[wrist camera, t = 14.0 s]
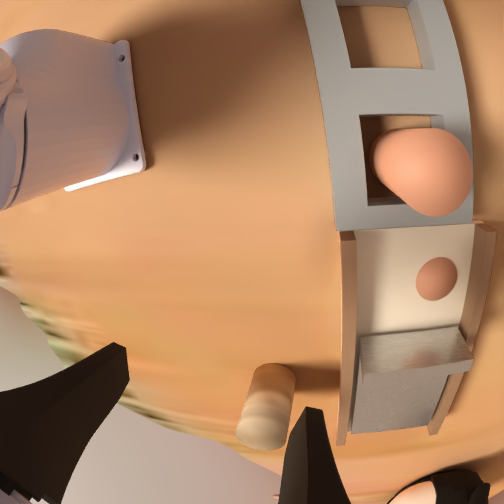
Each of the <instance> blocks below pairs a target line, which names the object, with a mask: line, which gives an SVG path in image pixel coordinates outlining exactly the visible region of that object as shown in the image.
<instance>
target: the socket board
mask: <svg viewBox="0 0 504 504" xmlns="http://www.w3.org/2000/svg"><path fill="white" fill-rule="evenodd" d="M300 3H301V6H302V11H303V15H304V19H305V23H306V27H307V32H308V36H309V41H310V46H311V50H312V55H313V60H314V66H315V71H316V76H317V82H318V88H319V93H320V99H321V106H322V112H323V119H324V126H325V133H326V140H327V148H328V156H329V165H330V174H331V184H332V194H333V206H334V218H335V225H336V231H346V230H361V229H377V228H393V227H410V226H428V225H446V224H466V223H472V222H473V200H474V167H473V145H472V132H471V122H470V113H469V105H468V99H467V92H466V86H465V81H464V75H463V70H462V65H461V61H460V57H459V52H458V48H457V44H456V41H455V37H454V33H453V30H452V26H451V23H450V20H449V17H448V14H447V11H446V8H445V5H444V2H443V0H300ZM337 6H390V7H404V8H407V11H408V14H409V17H410V20H411V24H412V27H413V31H414V35H415V39H416V42H417V47H418V51H419V55H420V60H421V64H422V69H413V68H351V65H350V60H349V56H348V51H347V46H346V42H345V38H344V33H343V29H342V25H341V21H340V17H339V14H338V10H337ZM366 116H430V119H431V128H438V129H442V130H445V131H447V132H449V133H451V134H453V135H454V136H455V137H457V138H458V139H459V140H460V141H461V143H462V144H463V145H464V147H465V148H466V150H467V152H468V154H469V157H470V160H471V164H472V171H473V177H472V185H471V188H470V191H469V194H468V196H467V198H466V199H465V201H464V202H463V204H462V205H461V206H460V207H459V208H458V209H456V210H455V211H453V212H452V213H450V214H448V215H445V216H440V217H431V216H426V215H423V214H421V213H419V212H417V211H416V210H414V209H413V208H412V207H410V206H409V205H408V204H407V203H406V202H405V201H403V200H402V199H401V198H400V197H399V196H392V197H373V198H367V187H366V174H365V162H364V152H363V143H362V135H361V127H360V119H359V117H366Z"/></svg>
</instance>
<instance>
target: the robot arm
mask: <svg viewBox="0 0 504 504" xmlns="http://www.w3.org/2000/svg"><path fill="white" fill-rule="evenodd" d="M124 56H125V59H124V61H123V62H122V58H123V57H124ZM136 154H138V155H139V159H138V160H136ZM145 168H146V159H145V153H144V148H143V142H142V136H141V130H140V124H139V118H138V111H137V104H136V97H135V90H134V82H133V74H132V65H131V55H130V45H129V42H128V41H126V40H120V41H118V42H116V43H114V44H113V43H109V42H106V41H102V40H98V39H95V38H91V37H87V36H83V35H79V34H75V33H70V32H66V31H61V30H55V29H42V30H34V31H29V32H25V33H22V34H19V35H17V36H14V37H12V38H10V39H9V40H7V41H5V42H4V43H2V44H1V45H0V211H3V210H5V209H8V208H10V207H13V206H15V205H18V204H21V203H23V202H26V201H28V200H31V199H34V198H36V197H39V196H42V195H45V194H48V193H50V192H53V191H56V190H59V189H62V188H64V189H65V190H66V191H67V192H69V191H73V190H76V189H79V188H83V187H86V186H89V185H93V184H96V183H100V182H104V181H107V180H111V179H115V178H119V177H122V176H126V175H130V174H134V173H138V172H142V171H144V170H145ZM129 380H130V378H129V371H128V362H127V354H126V348H125V347H123V346H121V345H119V344H117V343H114V342H113V343H111V344H109V345H107V346H105V347H104V348H102V349H100V350H99V351H97V352H95V353H93V354H92V355H90V356H88V357H87V358H85V359H83V360H81V361H79V362H78V363H76V364H74V365H72V366H70V367H68V368H66V369H64V370H63V371H60V372H58V373H56V374H54V375H52V376H50V377H48V378H45V379H43V380H40V381H38V382H35V383H32V384H29V385H26V386H23V387H19V388H16V389H12V390H8V391H2V392H0V504H32V503H31V502H30V499H31V498H34V499H35V500H36V501H37V502H39V501H40V500H41V498H42V499H44V500H45V501H46V502H48V503H49V504H61V501H62V499H63V495H64V493H65V490H66V487H67V485H68V482H69V480H70V478H71V475H72V473H73V471H74V469H75V467H76V465H77V463H78V461H79V459H80V457H81V455H82V453H83V451H84V449H85V447H86V446H87V444H88V442H89V440H90V439H91V437H92V436H93V434H94V433H95V432H96V430H97V429H98V428H99V426H100V425H101V423H102V422H103V421H104V419H105V418H106V417H107V415H108V414H109V413H110V411H111V410H112V409H113V407H114V406H115V404H116V403H117V402H118V400H119V399H120V397H121V395H122V393H123V392H124V390H125V388H126V386H127V384H128V382H129ZM278 504H351V502H350V500H349V498H348V496H347V494H346V491H345V489H344V486H343V484H342V481H341V478H340V476H339V473H338V470H337V467H336V464H335V460H334V457H333V453H332V450H331V446H330V442H329V438H328V434H327V430H326V425H325V420H324V414H323V411H322V410H321V409H316V408H311V407H305V409H304V411H303V412H302V414H301V416H300V418H299V419H298V421H297V423H296V424H295V426H294V428H293V429H292V431H291V433H290V436H289V440H288V444H287V448H286V453H285V457H284V465H283V473H282V480H281V488H280V495H279V502H278Z"/></svg>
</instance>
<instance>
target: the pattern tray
mask: <svg viewBox="0 0 504 504" xmlns="http://www.w3.org/2000/svg"><path fill="white" fill-rule="evenodd" d="M496 235H497V231H495V230H494V229H492V228H491V227H490V226H488V225H487V224H485V223H484V222H482V221H481V220H479V221H473V222H472V223H466V224H446V225H428V226H410V227H393V228H377V229H361V230H346V231H339V243H340V265H341V310H342V327H341V371H340V392H339V408H338V421H337V440H336V446H338V445H345V443H346V436H347V431H351V422H352V415H353V407H354V399H355V390H356V380H357V369H358V357H359V343H360V337H364V336H377V335H389V334H400V333H409V332H418V331H427V330H435V329H442V328H449V327H456V326H457V327H458V329H459V331H460V333H461V335H462V336H463V338H464V340H465V342H466V344H467V346H468V348H469V350H470V352H472V348H473V345H474V342H475V339H476V335H477V332H478V329H479V325H480V321H481V317H482V313H483V309H484V305H485V301H486V297H487V292H488V287H489V282H490V277H491V271H492V265H493V259H494V252H495V244H496ZM463 374H464V372H461V373H455V374H450V375H448V377H447V380H446V383H445V385H444V388H443V391H442V393H441V396H440V399H439V401H438V404H437V406H436V409H435V411H434V413H433V416H432V418H431V420H430V423H429V425H427V427H428V432H429V436H430V435H435V434H437V433H438V431H439V429H440V427H441V425H442V423H443V421H444V419H445V417H446V415H447V413H448V410H449V408H450V406H451V404H452V402H453V399H454V397H455V394H456V392H457V390H458V387H459V385H460V382H461V380H462V377H463Z"/></svg>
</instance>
